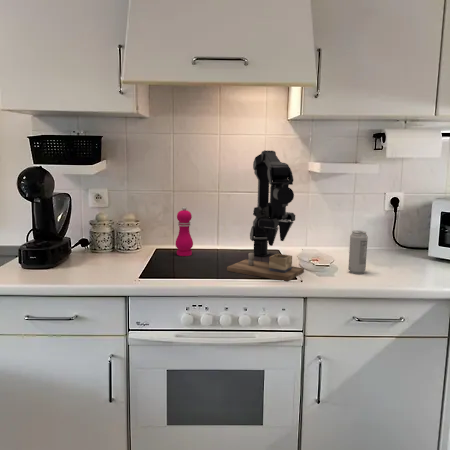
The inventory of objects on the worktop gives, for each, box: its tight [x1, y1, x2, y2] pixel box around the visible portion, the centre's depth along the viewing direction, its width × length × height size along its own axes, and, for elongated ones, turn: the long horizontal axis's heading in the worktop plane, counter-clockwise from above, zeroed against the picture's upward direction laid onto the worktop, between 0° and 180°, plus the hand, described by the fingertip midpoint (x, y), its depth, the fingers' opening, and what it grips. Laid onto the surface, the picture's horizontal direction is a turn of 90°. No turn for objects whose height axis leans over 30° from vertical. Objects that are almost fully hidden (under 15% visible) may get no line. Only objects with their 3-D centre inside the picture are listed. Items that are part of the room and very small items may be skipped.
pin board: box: [226, 252, 305, 282], centre depth 177 cm, size 14×24×6 cm, turn 58°
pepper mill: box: [175, 206, 194, 257], centre depth 201 cm, size 7×7×20 cm
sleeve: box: [268, 253, 293, 273], centre depth 174 cm, size 6×6×5 cm
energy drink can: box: [348, 230, 368, 275], centre depth 177 cm, size 6×6×15 cm
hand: (276, 243), depth 175 cm, fingers open, 9 cm apart
